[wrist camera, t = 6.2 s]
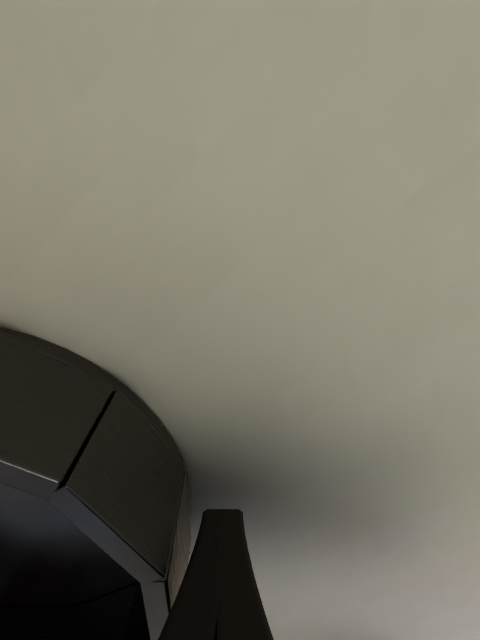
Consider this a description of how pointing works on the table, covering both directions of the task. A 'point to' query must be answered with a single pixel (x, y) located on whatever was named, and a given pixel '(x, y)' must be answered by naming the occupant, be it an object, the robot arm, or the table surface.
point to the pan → (84, 502)
